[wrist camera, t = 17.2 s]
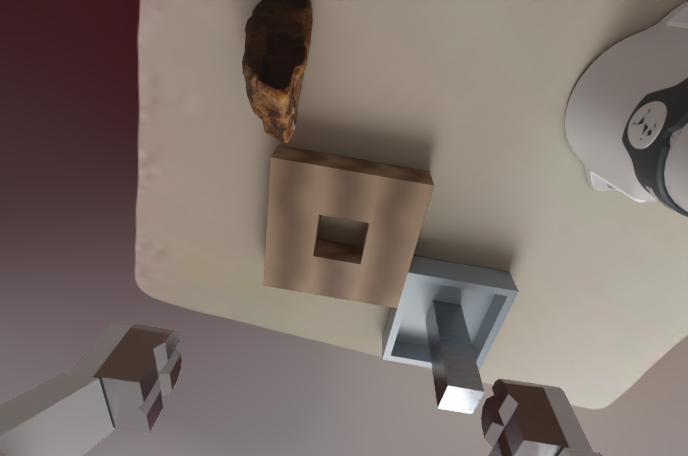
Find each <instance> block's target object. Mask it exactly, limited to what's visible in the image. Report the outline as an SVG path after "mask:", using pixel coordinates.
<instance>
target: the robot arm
mask: <svg viewBox="0 0 688 456" xmlns="http://www.w3.org/2000/svg"><path fill="white" fill-rule="evenodd" d="M565 131H566V136H567V140H568V142H569V145H570V147H571V148H572V150H573V152H574V153H575V154H576V155H577V156H578V158H579V159H580V160H581V161H582V163H583V164H584V166H585V171H586V177H587V181H588V183H589V185H590V186H591V187H593V188H594V189H596V190H600V191H620V192H622V193H623V194H625V195H627V196H628V197H630V198H631V199H633V200H635V201H637V202H640V203H643V202H645V201H658V202H660V203H661V204H663V205H664V206H666V207H668V208H669V209H671V210H674V211H676V212H678V213H680V214H682V215H684V216H687V217H688V1H687V2H685V3H683V4H681V5H680V6H678V7H677V8H675V9H674V10H673V11H671V12H670V13H669V14H668V15H666V16H665V17H664V18H663V19H662V20H661V21H659V22H658V23H657V24H656V25H654V26H652V27H650V28H648V29H646V30H644V31H642V32H639V33H637V34H634V35H632V36H630V37H628V38H626V39H624V40H622V41H620V42H618V43H617V44H615V45H614V46H612V47H611V48H609V49H608V50H607V51H605V52H604V53H603V54H602V55H601V56H599V57H598V58H597V59H596V60H595V61H594V62H593V63H592V64H591V65H590V67H589V68H588V69H587V70H586V71H585V73H584V74H583V75H582V77H581V78H580V80H579V81H578V83H577V84H576V86H575V88H574V90H573V92H572V94H571V97H570V99H569V102H568V106H567V110H566V116H565ZM178 343H179V334H178V331H174V330H169V329H163V328H158V327H152V326H146V325H141V324H134V323H127V322H122V321H115V322H113V323H112V324H110V325H109V326H108V327H107V329H106V330H105V331H104V332H103V333H102V335H101V336H100V337H99V338H98V340H97V341H96V342H95V343H94V344H93V346H92V347H91V348H90V349H89V350H88V351H87V353H86V354H85V355H84V356H83V357H82V359H81V360H80V361H79V362H78V363H77V365H76V366H75V367H74V368H73V369H72V371H71V372H70V373H61V374H59V375H58V376H56V377H54V378H52V379H50V380H48V381H46V382H44V383H42V384H41V385H38V386H37V387H35V388H33V389H31V390H29V391H27V392H25V393H23V394H21V395H20V396H18V397H16V398H14V399H12V400H10V401H8V402H6V403H4V404H3V405H0V456H83V455H84V454H85V453H86V452H88V451H89V450H90V449H91V448H93V447H94V446H95V445H96V444H98V443H99V442H100V441H101V440H103V439H104V438H105V437H106V436H108V435H109V434H110V433H111V432H113V431H114V429H113V428H116V429H124V430H132V431H141V432H151V430H152V428H153V426H154V424H155V422H156V420H157V418H158V417H159V415H160V413H161V411H162V409H163V401H162V397H164V396H165V395H167V394H168V393H170V392H171V391H172V390H173V388H174V386H175V384H176V382H177V380H178V376H179V373H180V370H181V362H182V358H181V353H180V352H179V351H178V350H177V348H176V346H177V345H178ZM492 390H493V393H494V395H493V396H491V397H489V398H488V399H486V401H485V403H484V405H483V408H482V417H481V420H482V421H481V422H482V429H483V434H484V438H485V439H486V440H487V441H488V443H489V444H490V445H491V446H492V447H493V448H492V450H491V452H490V454H489V456H602V455H601V454H600V453H596V452H593V450H592V448H591V446H590V444H589V442H588V440H587V438H586V436H585V434H584V432H583V430H582V428H581V426H580V424H579V422H578V420H577V417H576V415H575V414H574V411H573V409H572V407H571V405H570V403H569V401H568V399H567V397H566V395H565V393H564V391H563V390H562V389H561V388H559V387H553V386H546V385H538V384H534V383H527V382H520V381H512V380H505V379H498V380H497V381H495V383H494V385H493V387H492Z"/></svg>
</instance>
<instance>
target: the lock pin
mask: <svg viewBox="0 0 688 456" xmlns="http://www.w3.org/2000/svg"><path fill="white" fill-rule="evenodd" d="M425 322H426V329H427V336H428V343H429V350H430V357H431V364H432V371H433V378H434V385H435V392H436V399H437V406H438V408H439V409H446V410H451V411H457V412H463V413H469V414H473V412H474V410H475V408H476V406H477V405H478V403H479V401H480V399H481V397H482V395H483V393H484V389H483V386H482V381H481V378H480V374H479V370H478V366H477V363H476V359H475V355H474V351H473V348H472V344H471V340H470V336H469V333H468V329H467V325H466V322H465V318H464V314H463V310H462V307H461V305H459V304H453V303H448V302H442V301H436V300H433V301H432V304H431V306H430V309H429V312H428V315H427V318H426V320H425Z"/></svg>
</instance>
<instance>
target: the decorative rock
mask: <svg viewBox="0 0 688 456" xmlns="http://www.w3.org/2000/svg"><path fill="white" fill-rule="evenodd" d="M311 31H312V8H311V3H310V1H309V0H262V1H261V2H260V3H259V4H258V5H256V7H255V9H254V10H253V13H252V16H251V17H250V18H249V19H248V21H247V24H246V27H245V32H246V41H245V53H244V56H243V61H242V66H243V75H244V76H245V81H246V91H247V96H248V99H249V102H250V105H251V108H252V109H253V112H254V113H255V114H256V115H257V116H258V117H259V118H260V119H263V124H264V128H265V132H266V133H267V134H270V135H271V136H273V137H275V138H276V139H278V140H280V141H282V142H285V143H287V142H288V141H289V140H290V138H291V137H292V135H293V132H294V130H295V128H296V124H297V116H298V113H297V107H298V103H299V97H300V93H301V87H302V81H303V76H304V70H305V67H306V65H307V60H308V54H309V47H310V43H311Z"/></svg>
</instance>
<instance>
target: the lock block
mask: <svg viewBox="0 0 688 456" xmlns="http://www.w3.org/2000/svg"><path fill="white" fill-rule="evenodd" d="M433 187H434V184H433V181H432V177H431V174H430V172H429V171H423V170H417V169H412V168H406V167H400V166H394V165H389V164H383V163H377V162H371V161H366V160H360V159H354V158H348V157H343V156H337V155H331V154H325V153H320V152H314V151H308V150H302V149H296V148H291V147H285V146H278V147H277V149H276V150H275V152H274V153H273V155H272V156H271V160H270V178H269V195H268V212H267V230H266V247H265V264H264V282H263V285H264V286H269V287H275V288H281V289H287V290H293V291H299V292H305V293H311V294H316V295H322V296H328V297H334V298H340V299H346V300H352V301H358V302H363V303H369V304H375V305H381V306H387V307H393V308H398V305H399V302H400V298H401V295H402V291H403V288H404V285H405V281H406V278H407V275H408V271H409V268H410V265H411V261H412V258H413V254H414V251H415V248H416V244H417V241H418V238H419V234H420V231H421V227H422V224H423V221H424V217H425V214H426V211H427V207H428V204H429V201H430V197H431V194H432V190H433ZM321 215H324V216H330V217H336V218H342V219H348V220H353V221H359V222H365V223H367V225H366V230H365V235H364V239H363V244H362V247H360V246H354V245H348V244H342V243H336V242H330V241H325V240H319V239H318V232H319V225H320V218H321Z"/></svg>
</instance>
